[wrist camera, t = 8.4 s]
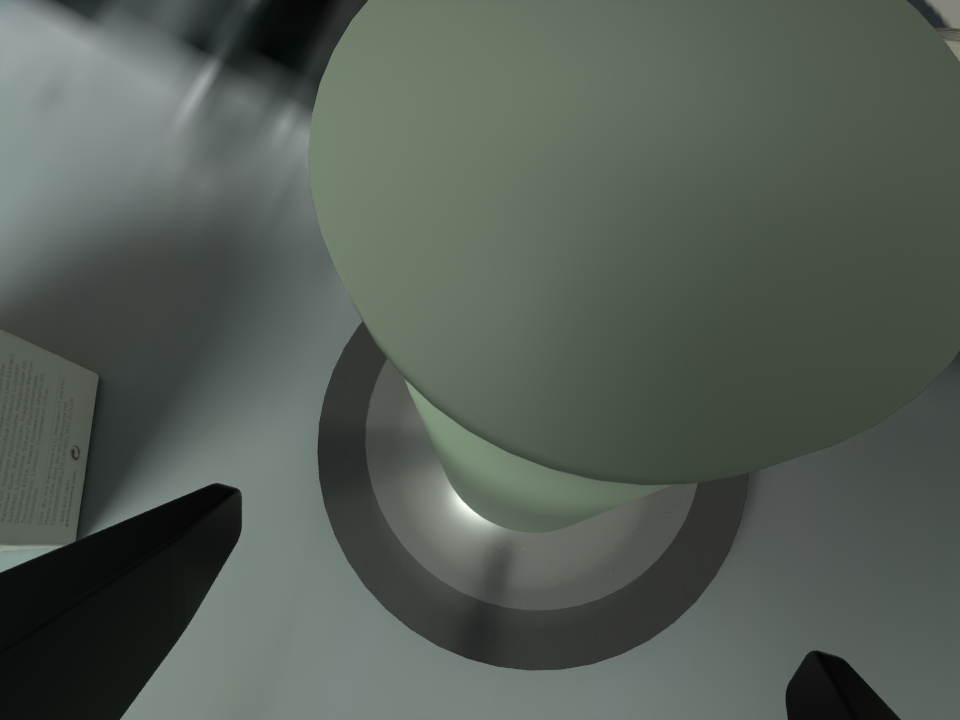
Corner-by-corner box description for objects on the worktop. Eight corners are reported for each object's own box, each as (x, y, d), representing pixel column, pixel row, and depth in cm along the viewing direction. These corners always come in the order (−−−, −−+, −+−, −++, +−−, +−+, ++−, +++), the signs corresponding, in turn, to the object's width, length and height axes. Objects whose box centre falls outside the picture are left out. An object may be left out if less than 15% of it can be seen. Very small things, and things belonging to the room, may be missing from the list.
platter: (396, 739, 16) (389, 754, 15) (282, 326, 20) (269, 311, 19) (813, 565, 17) (838, 565, 16) (628, 212, 21) (637, 191, 20)
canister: (472, 570, 16) (435, 599, 4) (407, 378, 18) (240, -20, 6) (664, 495, 17) (1169, 314, 4) (583, 318, 19) (781, -160, 6)
